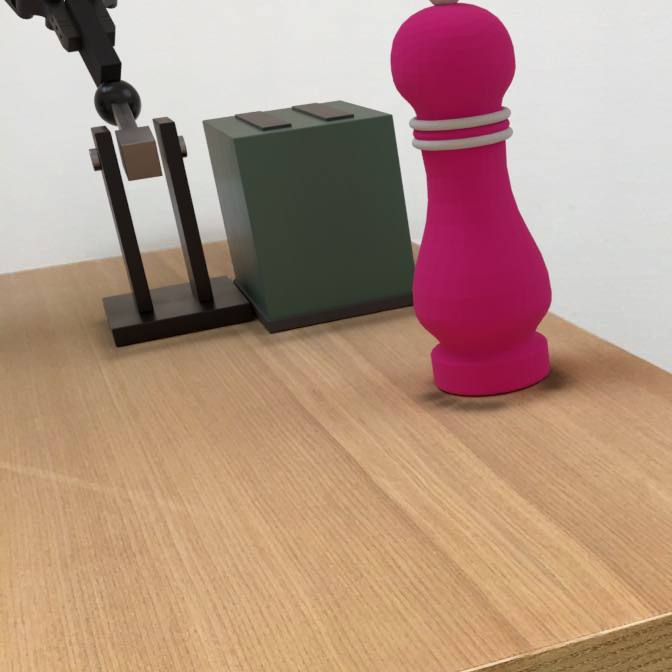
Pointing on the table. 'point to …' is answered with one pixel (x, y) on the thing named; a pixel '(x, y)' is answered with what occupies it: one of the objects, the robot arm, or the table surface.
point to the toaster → (313, 211)
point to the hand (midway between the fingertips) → (110, 78)
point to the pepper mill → (470, 204)
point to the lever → (128, 129)
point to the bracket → (201, 291)
